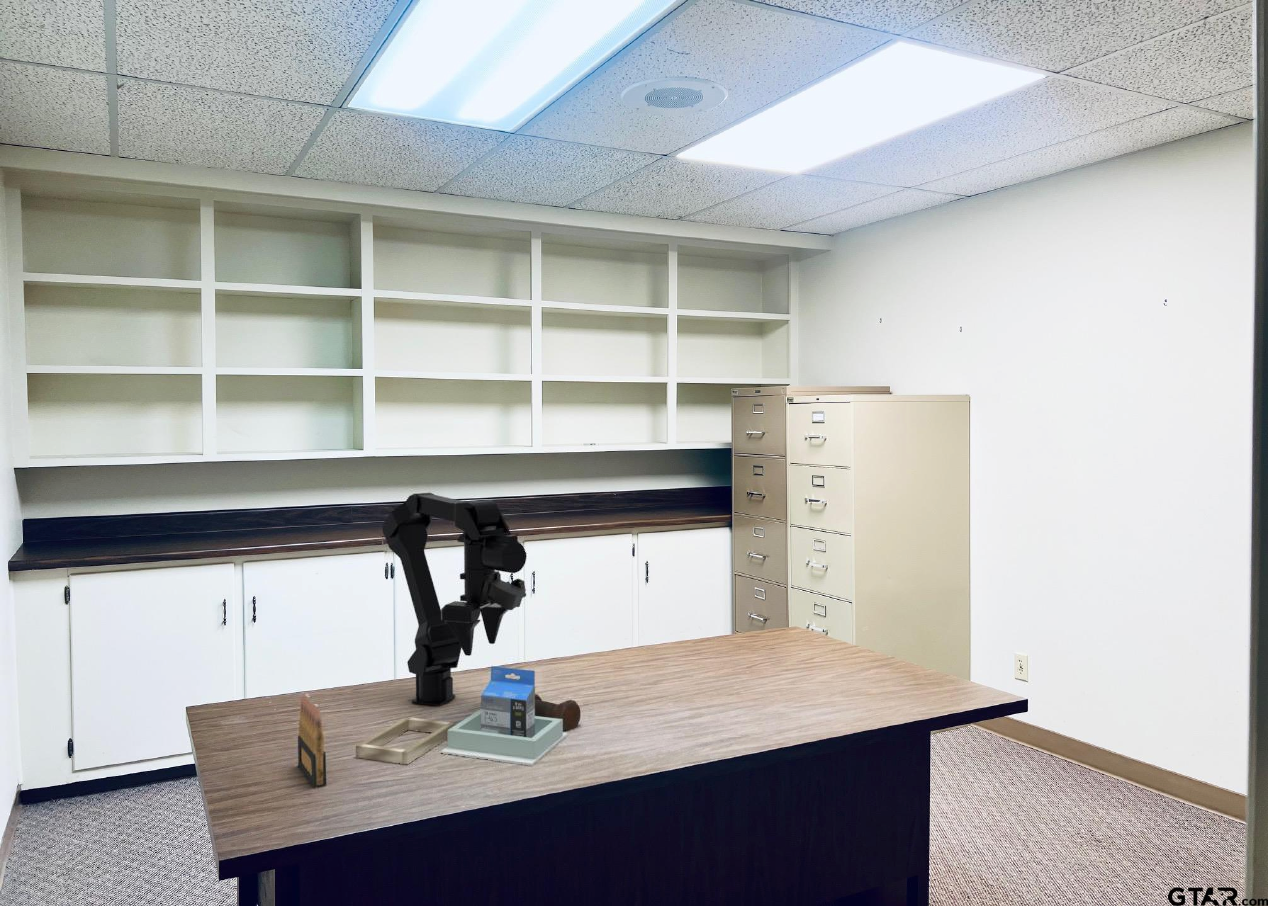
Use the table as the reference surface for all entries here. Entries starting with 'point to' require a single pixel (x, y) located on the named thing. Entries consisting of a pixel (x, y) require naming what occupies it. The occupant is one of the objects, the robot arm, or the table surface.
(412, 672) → the robot arm
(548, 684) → the table surface
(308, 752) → the ammunition clip
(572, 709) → the bolt
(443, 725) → the beige open rectangular frame
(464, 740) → the slot plate
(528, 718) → the label tape cartridge
